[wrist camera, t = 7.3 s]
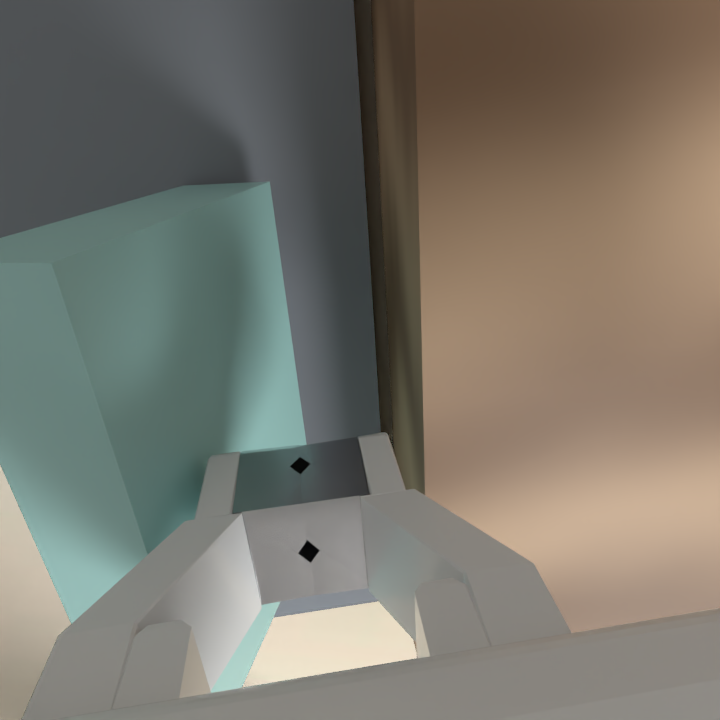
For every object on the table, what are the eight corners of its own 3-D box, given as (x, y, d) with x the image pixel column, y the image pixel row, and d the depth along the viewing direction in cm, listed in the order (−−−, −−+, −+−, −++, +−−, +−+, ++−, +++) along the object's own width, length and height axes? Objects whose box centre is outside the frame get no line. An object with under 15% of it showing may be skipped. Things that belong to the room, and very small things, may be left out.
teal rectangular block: (269, 181, 11) (183, 185, 11) (51, 263, 6) (-89, 264, 6) (317, 520, 15) (251, 512, 15) (212, 751, 10) (117, 727, 10)
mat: (-176, -65, 9) (-194, -72, 9) (345, -90, 10) (347, -97, 10) (106, 632, 17) (102, 644, 17) (388, 589, 18) (391, 599, 18)
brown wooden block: (366, -91, 10) (409, -202, 7) (802, -111, 11) (1056, -221, 7) (400, 587, 18) (429, 707, 14) (654, 548, 19) (742, 653, 15)
